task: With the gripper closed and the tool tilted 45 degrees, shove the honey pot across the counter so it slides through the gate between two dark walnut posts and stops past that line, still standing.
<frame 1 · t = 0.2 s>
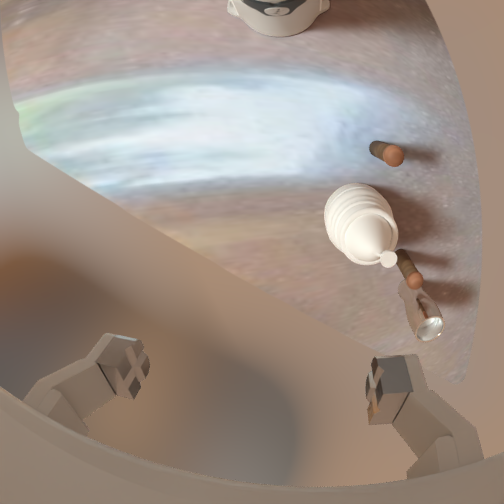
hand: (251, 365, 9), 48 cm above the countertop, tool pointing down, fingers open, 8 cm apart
honey pot: (355, 214, 55), on the countertop
post 2: (376, 148, 48), on the countertop
beer glass: (409, 287, 59), on the countertop
post 1: (399, 255, 56), on the countertop
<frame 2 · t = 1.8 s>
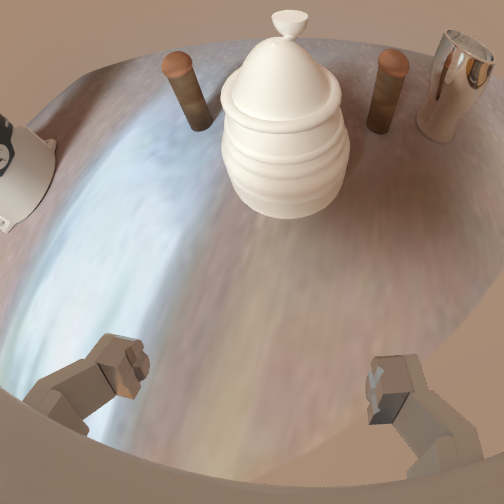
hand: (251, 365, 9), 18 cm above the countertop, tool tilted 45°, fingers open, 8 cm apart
honey pot: (287, 168, 32), on the countertop
post 2: (201, 123, 36), on the countertop
beer glass: (434, 127, 31), on the countertop
post 1: (377, 125, 32), on the countertop
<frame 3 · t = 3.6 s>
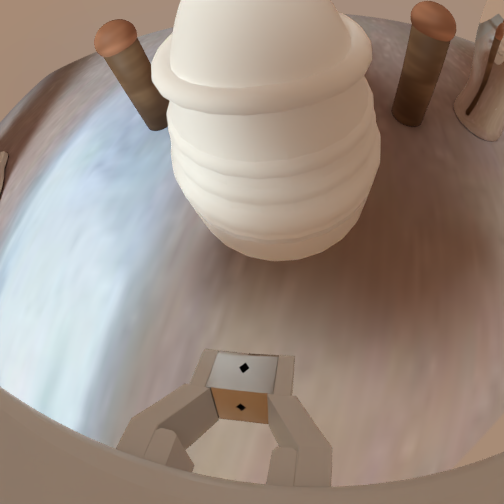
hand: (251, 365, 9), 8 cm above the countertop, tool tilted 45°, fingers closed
honey pot: (280, 178, 21), on the countertop
post 2: (161, 119, 25), on the countertop
beer glass: (476, 120, 20), on the countertop
post 1: (406, 114, 21), on the countertop
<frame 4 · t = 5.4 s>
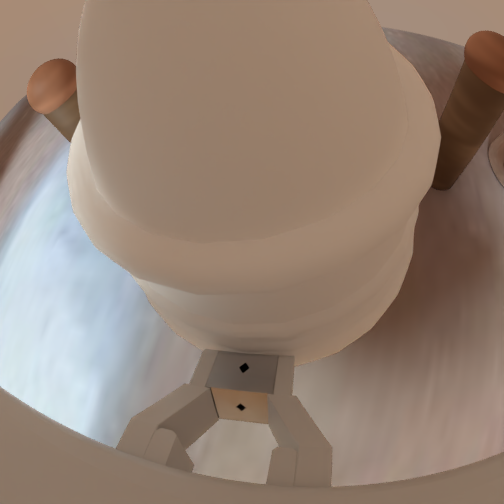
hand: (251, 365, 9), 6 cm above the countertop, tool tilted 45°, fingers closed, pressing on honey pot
honey pot: (277, 251, 17), on the countertop, touching gripper
post 2: (130, 175, 21), on the countertop
post 1: (436, 172, 17), on the countertop
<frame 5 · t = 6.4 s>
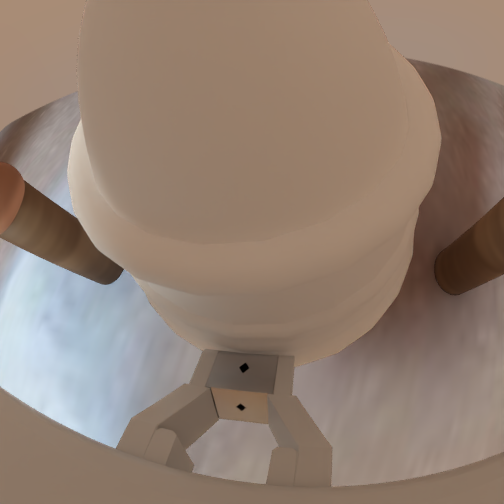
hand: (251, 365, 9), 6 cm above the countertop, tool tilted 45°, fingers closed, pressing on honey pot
honey pot: (277, 251, 17), on the countertop, touching gripper
post 2: (107, 263, 19), on the countertop
post 1: (453, 271, 15), on the countertop
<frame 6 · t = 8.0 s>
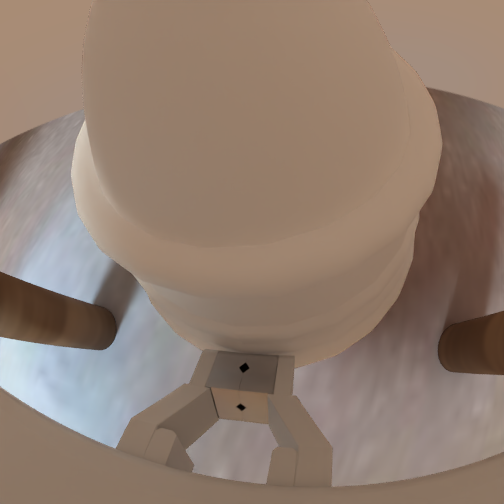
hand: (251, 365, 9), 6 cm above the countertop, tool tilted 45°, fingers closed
honey pot: (279, 253, 17), on the countertop
post 2: (99, 328, 17), on the countertop
post 1: (457, 347, 13), on the countertop
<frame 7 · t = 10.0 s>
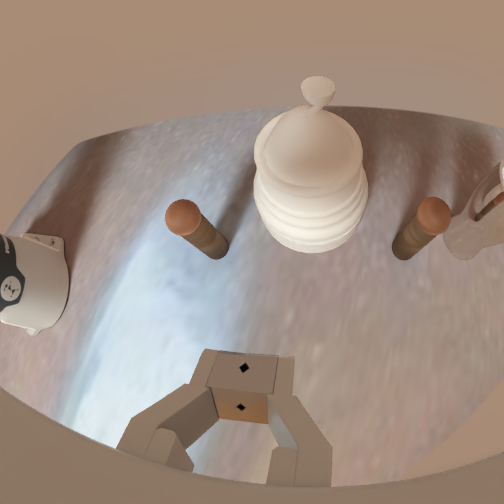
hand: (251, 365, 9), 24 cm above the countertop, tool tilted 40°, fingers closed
honey pot: (311, 203, 36), on the countertop
post 2: (216, 247, 37), on the countertop
beer glass: (461, 238, 30), on the countertop
post 1: (403, 248, 32), on the countertop
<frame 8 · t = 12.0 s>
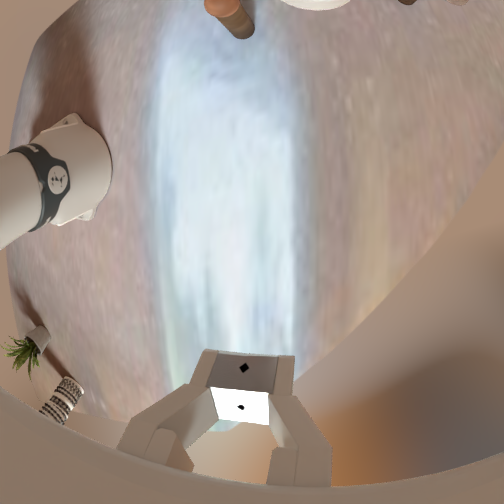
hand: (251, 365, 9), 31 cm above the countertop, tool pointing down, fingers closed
post 2: (242, 29, 29), on the countertop
house plant: (42, 328, 65), on the countertop
decorative candle: (74, 384, 76), on the countertop
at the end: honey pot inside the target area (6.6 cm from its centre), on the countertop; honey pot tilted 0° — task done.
